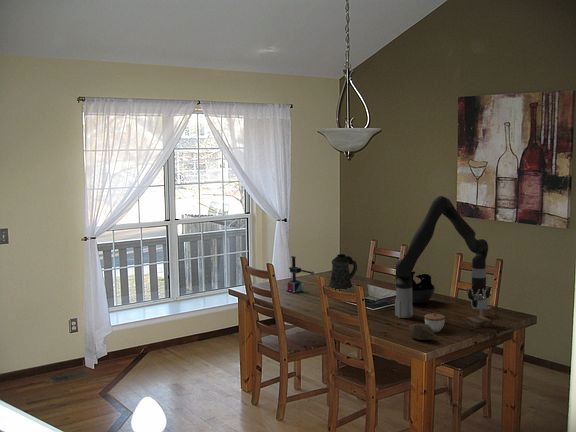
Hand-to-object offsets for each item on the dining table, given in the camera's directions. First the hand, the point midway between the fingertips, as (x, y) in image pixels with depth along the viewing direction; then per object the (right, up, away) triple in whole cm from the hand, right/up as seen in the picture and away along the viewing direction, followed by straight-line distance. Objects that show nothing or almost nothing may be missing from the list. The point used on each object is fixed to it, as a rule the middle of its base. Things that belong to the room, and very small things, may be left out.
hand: (478, 306), depth 346 cm
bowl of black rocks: (-23, -5, +49) cm, 55 cm away
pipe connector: (+6, -8, +16) cm, 19 cm away
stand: (0, -10, +1) cm, 10 cm away
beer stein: (-67, -2, +88) cm, 111 cm away
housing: (0, -1, 0) cm, 1 cm away
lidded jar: (-26, -12, -6) cm, 29 cm away
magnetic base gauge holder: (-97, -3, +86) cm, 130 cm away
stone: (-36, -14, -20) cm, 43 cm away
